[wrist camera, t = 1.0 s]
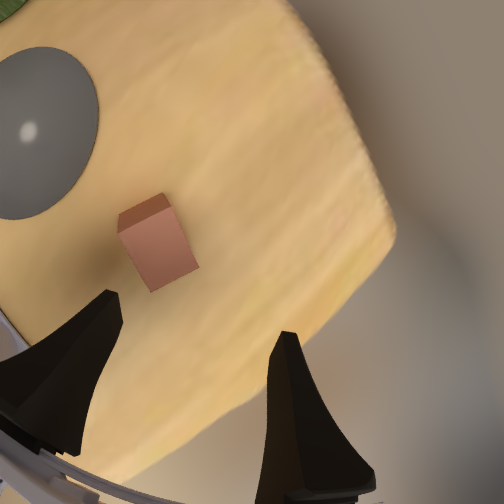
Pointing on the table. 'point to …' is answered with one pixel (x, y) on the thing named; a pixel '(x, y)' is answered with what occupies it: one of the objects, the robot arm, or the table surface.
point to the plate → (43, 129)
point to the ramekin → (9, 7)
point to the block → (156, 242)
